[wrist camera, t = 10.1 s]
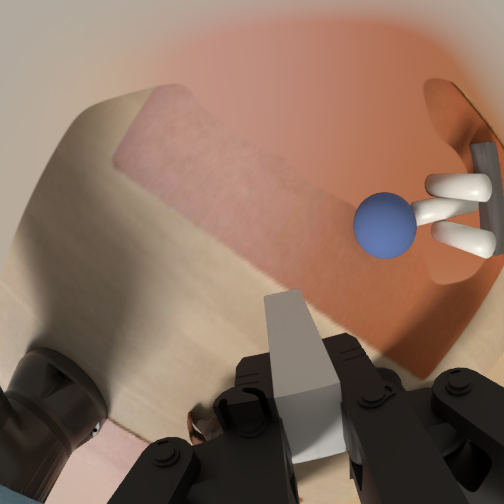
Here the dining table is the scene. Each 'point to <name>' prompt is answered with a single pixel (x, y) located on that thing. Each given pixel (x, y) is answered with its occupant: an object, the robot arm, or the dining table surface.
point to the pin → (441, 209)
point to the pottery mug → (203, 430)
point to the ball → (385, 225)
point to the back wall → (498, 206)
